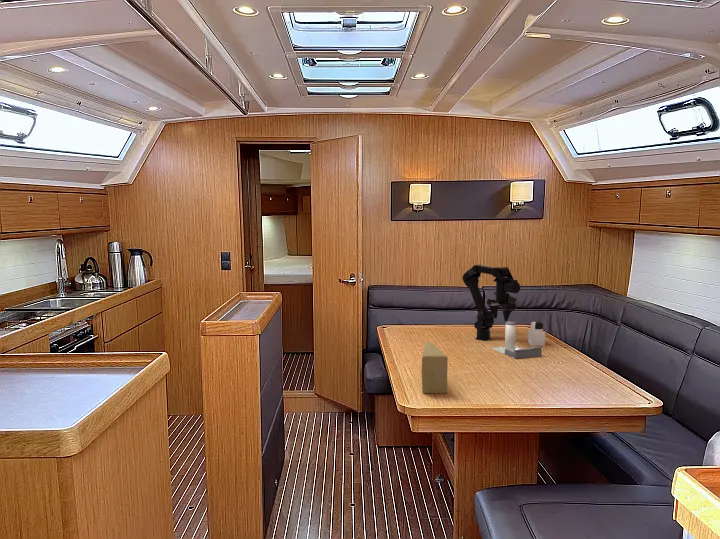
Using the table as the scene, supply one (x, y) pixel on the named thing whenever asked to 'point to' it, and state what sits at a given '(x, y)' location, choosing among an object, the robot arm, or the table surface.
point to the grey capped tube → (510, 335)
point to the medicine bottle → (536, 334)
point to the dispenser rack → (524, 352)
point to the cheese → (434, 370)
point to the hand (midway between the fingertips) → (500, 320)
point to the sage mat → (503, 349)
